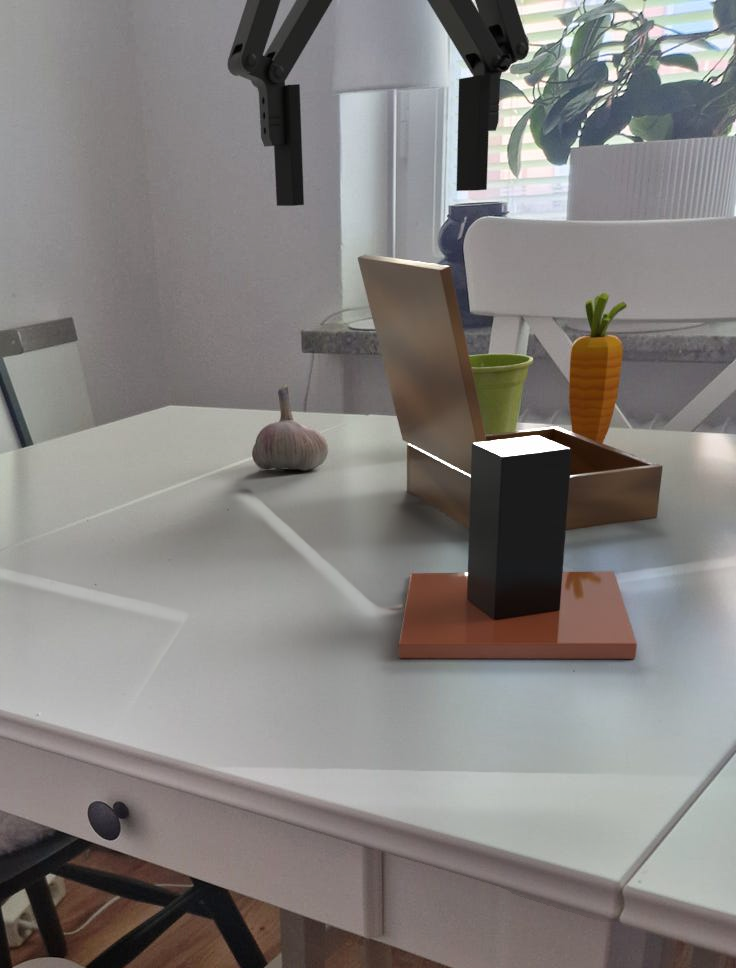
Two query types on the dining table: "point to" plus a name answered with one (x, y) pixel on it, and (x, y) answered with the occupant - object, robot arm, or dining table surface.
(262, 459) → the garlic bulb
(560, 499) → the black block
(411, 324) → the lid
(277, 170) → the robot arm
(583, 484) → the wooden box
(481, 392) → the plant pot
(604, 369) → the carrot
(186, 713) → the dining table surface
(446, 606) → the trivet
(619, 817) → the dining table surface
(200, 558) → the dining table surface
